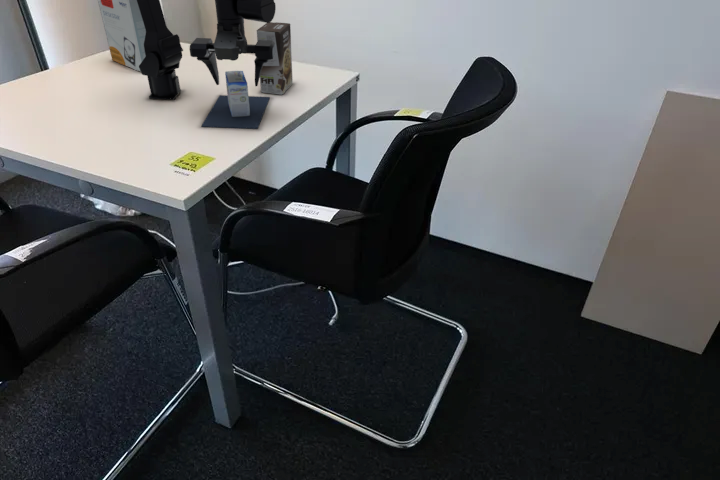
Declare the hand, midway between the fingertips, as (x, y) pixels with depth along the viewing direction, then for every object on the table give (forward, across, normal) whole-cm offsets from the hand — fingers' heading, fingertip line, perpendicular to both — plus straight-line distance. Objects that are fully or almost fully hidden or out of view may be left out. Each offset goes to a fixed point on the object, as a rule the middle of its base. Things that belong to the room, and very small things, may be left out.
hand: (237, 85), depth 128 cm
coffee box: (+7, +7, +17) cm, 19 cm away
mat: (+7, -1, 0) cm, 7 cm away
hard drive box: (+7, -36, +32) cm, 49 cm away
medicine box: (+7, 0, 0) cm, 7 cm away
